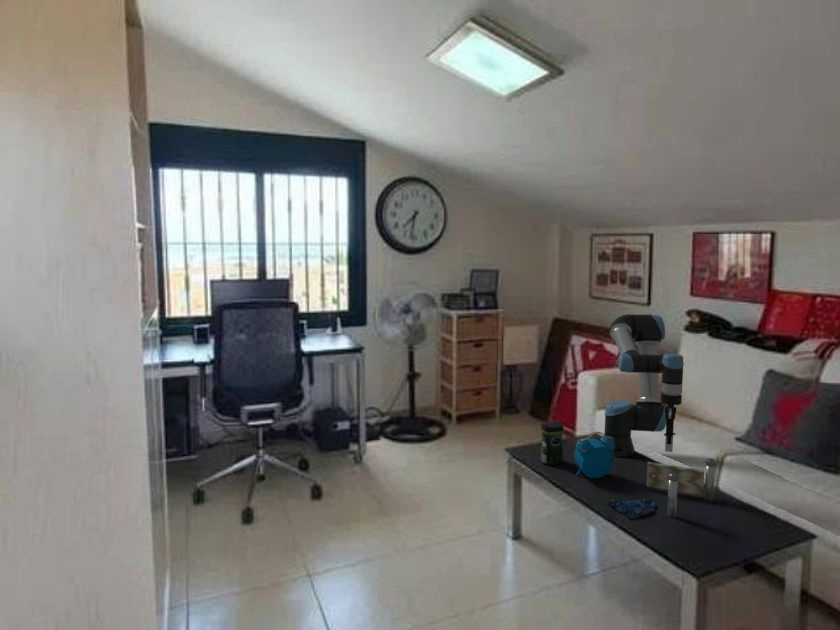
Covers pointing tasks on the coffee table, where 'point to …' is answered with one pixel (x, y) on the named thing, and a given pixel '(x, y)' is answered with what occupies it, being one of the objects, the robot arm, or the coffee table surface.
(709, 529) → the coffee table surface
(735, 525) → the coffee table surface
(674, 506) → the gate posts
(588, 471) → the alarm clock
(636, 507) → the rock
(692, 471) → the gate
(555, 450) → the coffee jar
